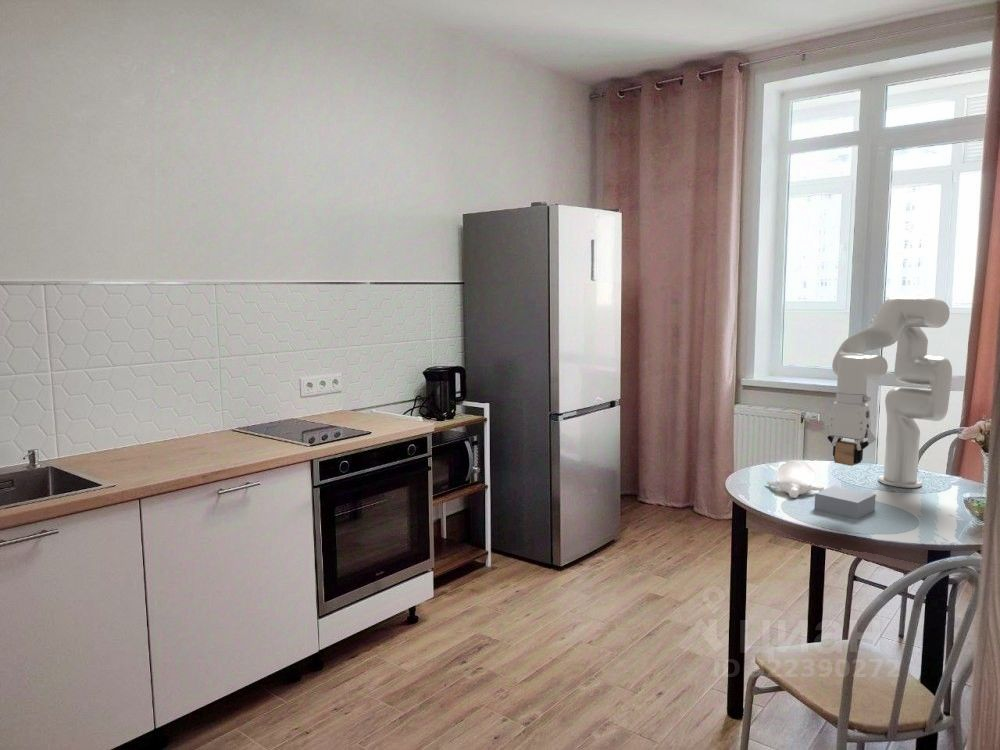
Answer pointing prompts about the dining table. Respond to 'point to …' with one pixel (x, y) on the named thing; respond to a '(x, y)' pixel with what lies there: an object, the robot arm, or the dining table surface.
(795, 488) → the figurine
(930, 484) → the dining table surface
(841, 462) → the walnut block
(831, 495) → the plinth
